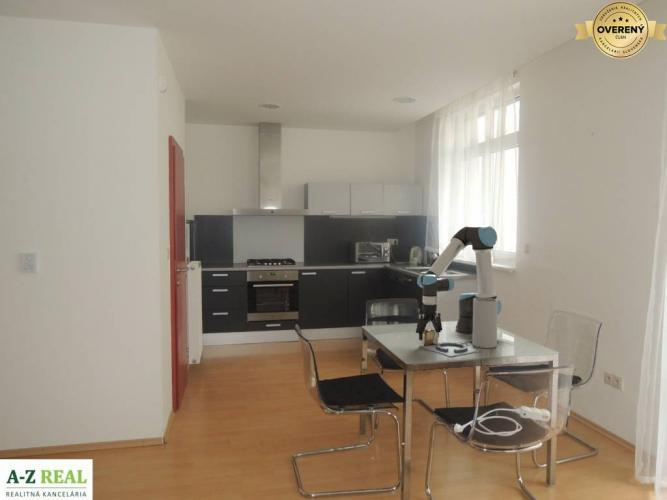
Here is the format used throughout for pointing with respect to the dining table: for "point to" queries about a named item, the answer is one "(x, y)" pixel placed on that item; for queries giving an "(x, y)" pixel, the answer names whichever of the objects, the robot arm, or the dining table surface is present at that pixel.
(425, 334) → the piston
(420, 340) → the robot arm
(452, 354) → the ring plate
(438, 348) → the piston ring
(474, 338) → the cylinder vase
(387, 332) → the dining table surface
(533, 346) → the dining table surface
